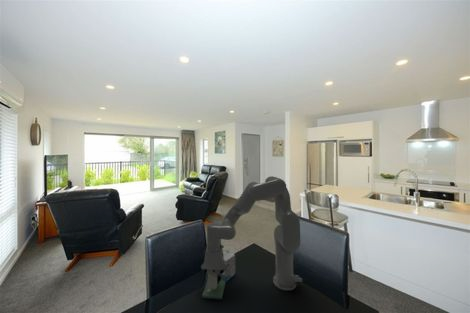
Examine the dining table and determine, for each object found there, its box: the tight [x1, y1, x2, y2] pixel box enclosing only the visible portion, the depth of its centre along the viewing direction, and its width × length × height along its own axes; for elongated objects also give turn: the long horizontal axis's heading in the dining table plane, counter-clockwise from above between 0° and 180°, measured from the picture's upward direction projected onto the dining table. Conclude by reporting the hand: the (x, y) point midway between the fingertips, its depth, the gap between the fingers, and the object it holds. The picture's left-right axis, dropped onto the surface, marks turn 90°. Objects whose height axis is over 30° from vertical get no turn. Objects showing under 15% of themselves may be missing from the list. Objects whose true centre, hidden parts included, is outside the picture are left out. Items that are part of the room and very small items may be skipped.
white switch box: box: [207, 270, 218, 289], centre depth 91 cm, size 4×9×7 cm, turn 173°
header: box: [201, 279, 227, 300], centre depth 91 cm, size 10×12×6 cm
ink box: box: [221, 249, 236, 282], centre depth 103 cm, size 9×8×13 cm
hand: (214, 281), depth 91 cm, fingers closed on white switch box, 4 cm apart
